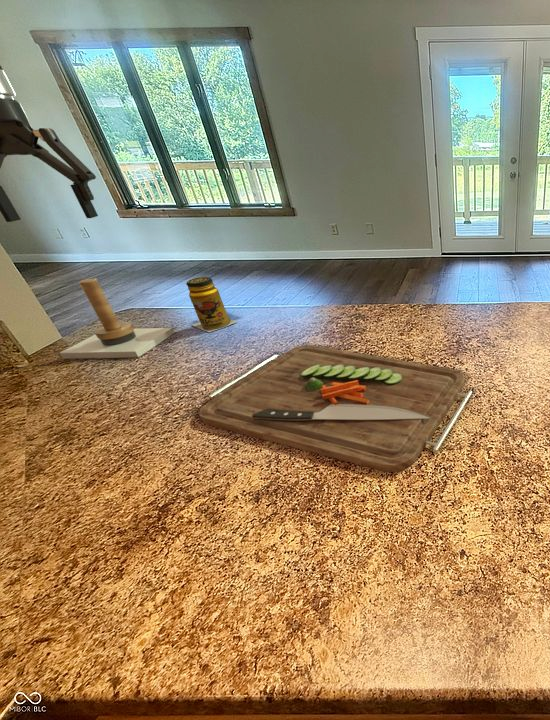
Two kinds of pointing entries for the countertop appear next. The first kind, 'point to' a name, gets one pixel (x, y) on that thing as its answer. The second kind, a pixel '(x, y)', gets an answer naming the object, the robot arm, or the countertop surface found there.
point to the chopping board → (341, 405)
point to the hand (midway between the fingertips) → (54, 219)
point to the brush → (106, 316)
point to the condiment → (208, 305)
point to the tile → (119, 345)
